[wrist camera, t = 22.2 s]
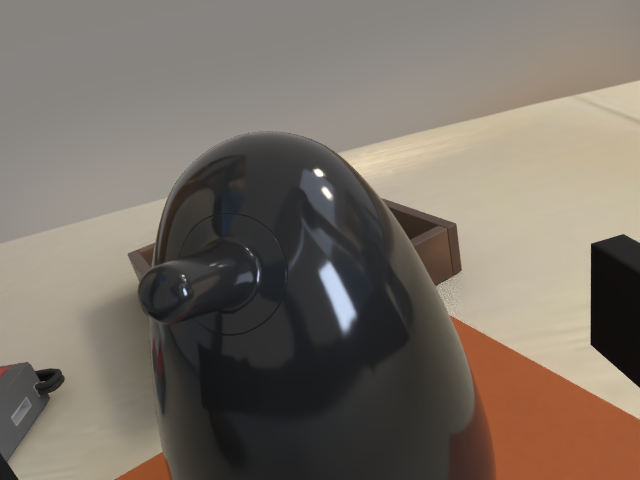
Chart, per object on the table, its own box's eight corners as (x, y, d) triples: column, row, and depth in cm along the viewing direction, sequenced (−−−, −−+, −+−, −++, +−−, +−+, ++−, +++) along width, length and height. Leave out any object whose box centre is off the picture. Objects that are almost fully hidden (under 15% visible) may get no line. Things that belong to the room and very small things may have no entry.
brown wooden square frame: (325, 210, 49) (317, 175, 47) (462, 270, 34) (456, 223, 33) (143, 291, 42) (127, 253, 40) (219, 408, 28) (198, 356, 26)
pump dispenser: (171, 690, 16) (-110, 266, 10) (268, 427, 25) (157, 116, 18) (525, 747, 13) (466, 196, 7) (491, 427, 22) (452, 60, 16)
